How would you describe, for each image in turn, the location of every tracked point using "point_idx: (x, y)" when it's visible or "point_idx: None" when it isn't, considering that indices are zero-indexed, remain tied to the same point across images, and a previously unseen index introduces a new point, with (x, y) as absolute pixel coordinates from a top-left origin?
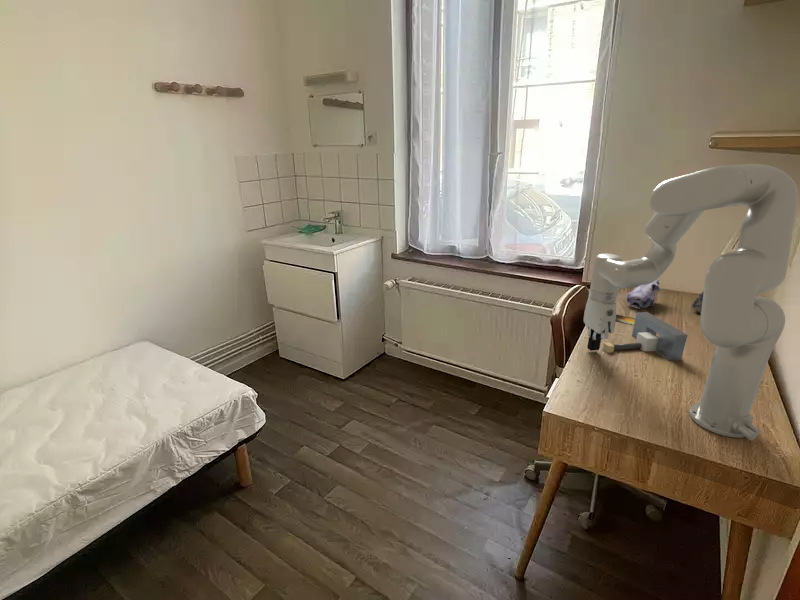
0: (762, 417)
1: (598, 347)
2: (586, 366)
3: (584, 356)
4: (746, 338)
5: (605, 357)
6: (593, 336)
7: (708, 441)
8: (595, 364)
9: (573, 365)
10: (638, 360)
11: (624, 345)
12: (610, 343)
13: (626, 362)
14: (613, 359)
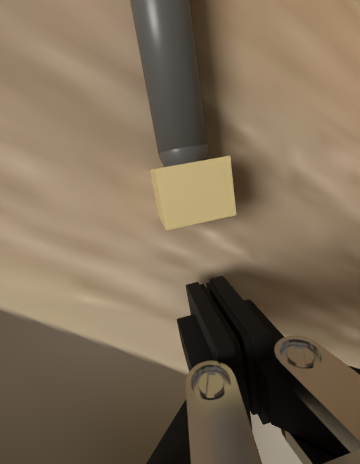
0: None
1: (251, 302)
2: (350, 364)
3: None
4: None
5: (278, 244)
6: (309, 449)
7: None
8: (341, 321)
9: None
10: (341, 18)
11: (184, 18)
12: (177, 172)
13: (351, 134)
14: (306, 204)
